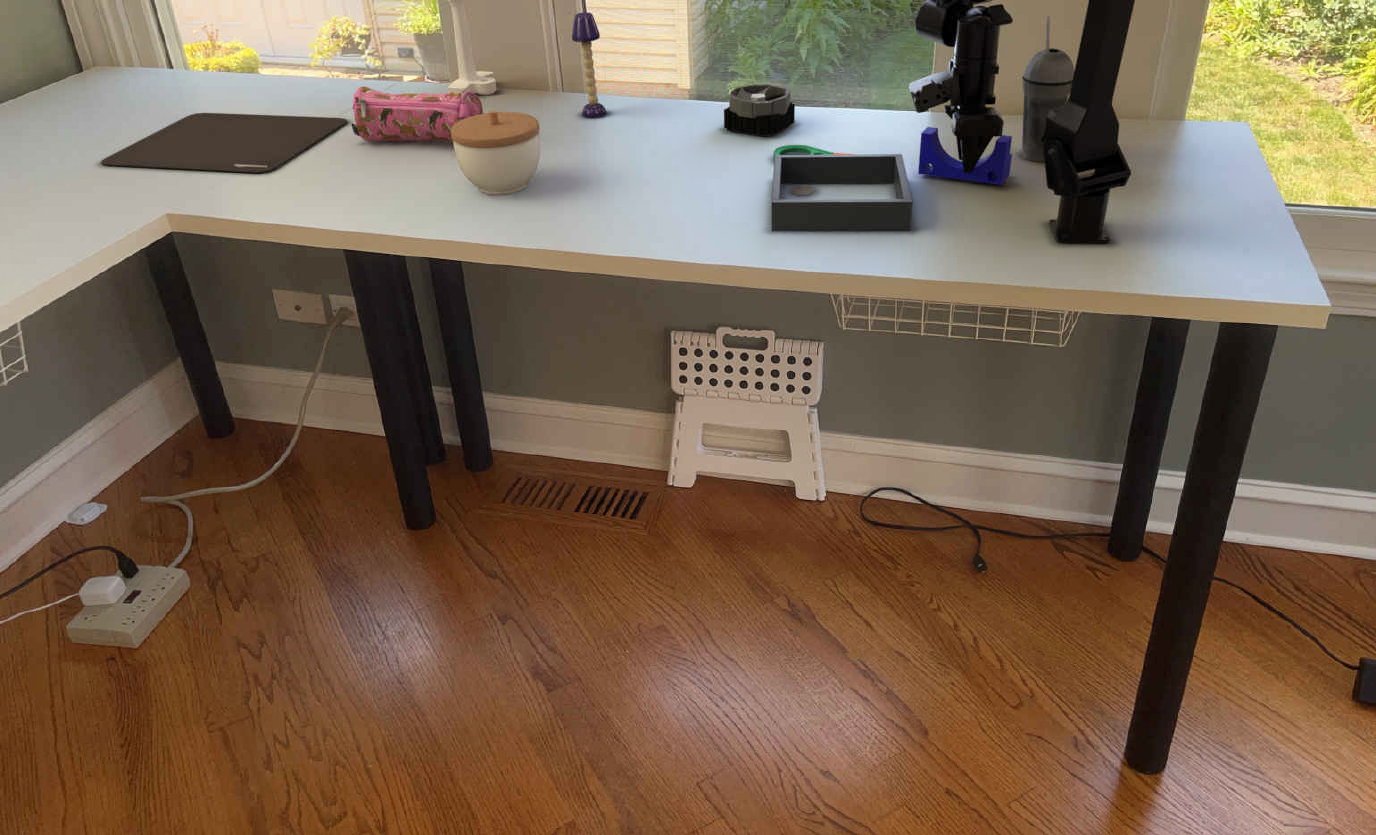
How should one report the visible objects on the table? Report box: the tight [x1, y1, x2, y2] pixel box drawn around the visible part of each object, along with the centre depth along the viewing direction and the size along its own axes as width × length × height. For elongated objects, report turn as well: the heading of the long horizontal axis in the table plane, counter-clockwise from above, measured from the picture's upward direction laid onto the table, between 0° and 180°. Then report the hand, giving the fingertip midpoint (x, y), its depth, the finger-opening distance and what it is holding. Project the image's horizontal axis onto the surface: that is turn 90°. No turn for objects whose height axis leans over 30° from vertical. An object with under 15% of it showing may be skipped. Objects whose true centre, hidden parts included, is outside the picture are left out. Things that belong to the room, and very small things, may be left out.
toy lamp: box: [571, 11, 607, 119], centre depth 186 cm, size 5×5×17 cm
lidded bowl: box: [451, 110, 541, 195], centre depth 160 cm, size 13×13×11 cm
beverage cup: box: [1021, 16, 1075, 162], centre depth 159 cm, size 7×7×20 cm
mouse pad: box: [100, 112, 348, 174], centre depth 185 cm, size 32×27×1 cm
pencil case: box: [350, 86, 484, 144], centre depth 179 cm, size 21×9×9 cm, turn 74°
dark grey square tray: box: [770, 153, 913, 232], centre depth 150 cm, size 18×18×4 cm
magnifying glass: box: [773, 144, 859, 157], centre depth 165 cm, size 15×6×2 cm, turn 66°
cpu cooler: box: [723, 83, 796, 137], centre depth 179 cm, size 10×6×10 cm
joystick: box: [446, 0, 497, 96], centre depth 199 cm, size 11×8×20 cm
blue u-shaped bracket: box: [917, 126, 1013, 186], centre depth 156 cm, size 12×4×6 cm, turn 62°
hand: (964, 166), depth 157 cm, fingers closed on blue u-shaped bracket, 5 cm apart
